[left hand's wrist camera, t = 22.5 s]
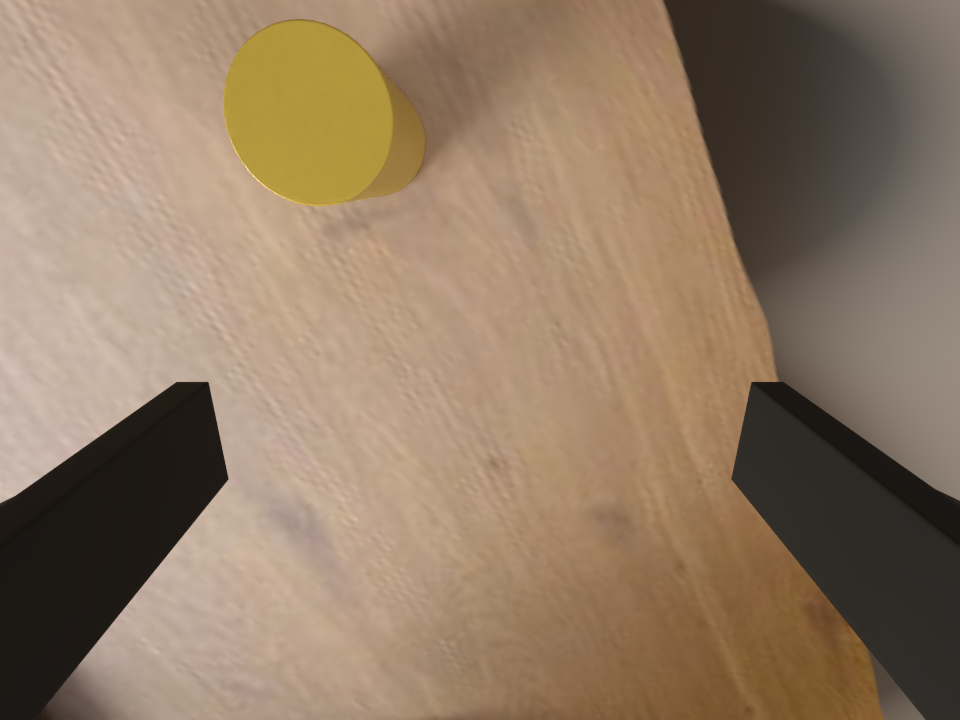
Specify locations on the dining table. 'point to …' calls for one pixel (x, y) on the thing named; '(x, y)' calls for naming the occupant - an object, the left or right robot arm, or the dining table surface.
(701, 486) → the dining table surface
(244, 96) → the canister
